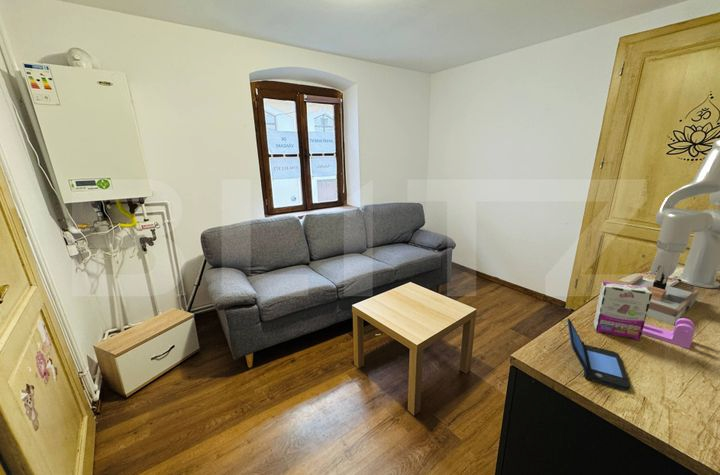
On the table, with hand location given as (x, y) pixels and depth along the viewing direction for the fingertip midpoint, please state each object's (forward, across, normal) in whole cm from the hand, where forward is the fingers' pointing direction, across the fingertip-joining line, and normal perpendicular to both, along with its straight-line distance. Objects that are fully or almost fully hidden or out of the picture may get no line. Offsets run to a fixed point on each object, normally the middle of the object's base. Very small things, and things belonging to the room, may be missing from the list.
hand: (657, 291), depth 111 cm
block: (+1, +4, 0) cm, 4 cm away
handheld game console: (+5, +59, +2) cm, 59 cm away
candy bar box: (+4, +36, 0) cm, 37 cm away
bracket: (+4, +27, +8) cm, 29 cm away
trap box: (+4, +2, 0) cm, 5 cm away
